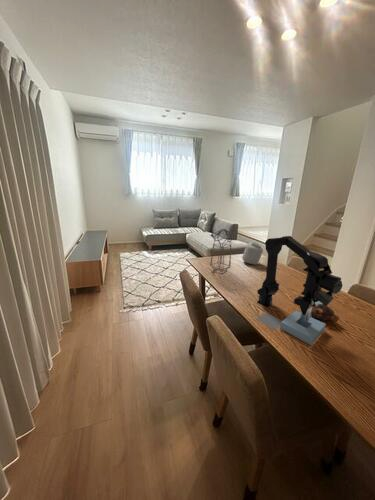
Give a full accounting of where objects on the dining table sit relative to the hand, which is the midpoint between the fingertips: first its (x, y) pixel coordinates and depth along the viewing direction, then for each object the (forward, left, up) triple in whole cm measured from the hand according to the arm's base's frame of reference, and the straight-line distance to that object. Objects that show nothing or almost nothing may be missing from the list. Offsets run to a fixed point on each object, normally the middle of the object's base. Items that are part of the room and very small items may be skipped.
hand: (305, 313), depth 96 cm
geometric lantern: (-73, +23, -10) cm, 77 cm away
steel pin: (0, 0, -3) cm, 3 cm away
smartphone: (-3, +32, -10) cm, 34 cm away
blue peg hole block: (0, 0, -10) cm, 9 cm away
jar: (-68, +61, -10) cm, 92 cm away
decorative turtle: (+2, +18, -10) cm, 21 cm away
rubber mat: (-13, -6, -9) cm, 17 cm away
